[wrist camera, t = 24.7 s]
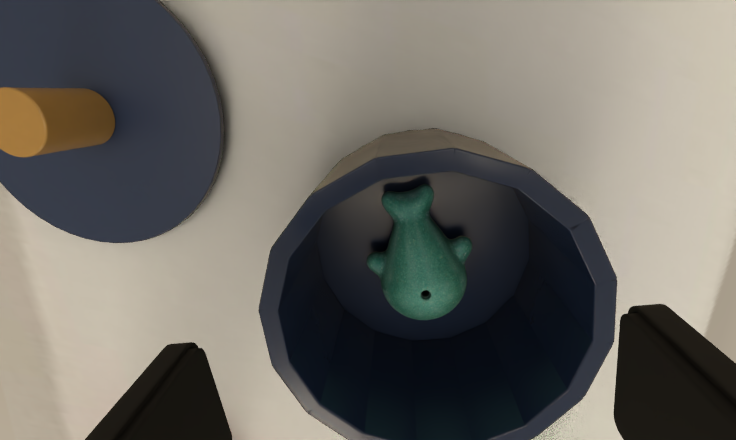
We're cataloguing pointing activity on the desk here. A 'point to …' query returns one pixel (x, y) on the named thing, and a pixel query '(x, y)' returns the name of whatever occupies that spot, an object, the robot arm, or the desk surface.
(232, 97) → the desk surface
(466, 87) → the desk surface
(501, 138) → the desk surface
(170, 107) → the tin lid
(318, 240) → the tin
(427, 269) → the whale figurine
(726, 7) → the desk surface
